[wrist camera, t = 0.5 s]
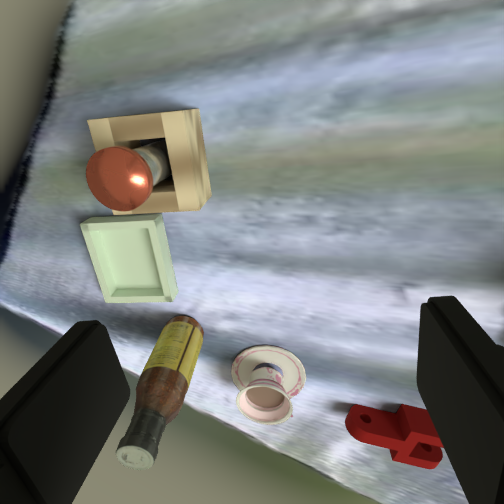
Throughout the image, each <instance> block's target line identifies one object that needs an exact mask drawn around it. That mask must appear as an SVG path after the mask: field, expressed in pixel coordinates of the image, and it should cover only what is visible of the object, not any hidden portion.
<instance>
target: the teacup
mask: <svg viewBox="0 0 504 504" xmlns="http://www.w3.org/2000/svg"><path fill="white" fill-rule="evenodd" d="M267 362H268V363H273V364H275V365H277V366H279V367H280V368H281V370H282V371H283V377H282V375H281V374H280V373H279V372H278V371H276V370H274V369H273V368H271V367H262V368H259V369H256V370H254V369H255V367H256V366H257V365H259V364H261V363H267ZM231 375H232V379H233V382H234V384H235V385H236V386H237V388H238V389H239V390H240V392H239V393H238V395H237V398H236V404H237V407H238V409H239V410H240V412H241V413H242V414H243V415H244V416H246V417H247V418H249V419H250V420H252V421H254V422H257V423H261V424H266V425H275V424H280V423H283V422H285V421H286V420H288V419H289V418H290V417H293V415H292V411H293V407H292V403H291V401H290V399H291V398H292V397H294V396H295V395H297V394H298V393H299V392H300V391H301V389H302V388H303V387H304V384H305V380H306V374H305V368H304V366H303V365H302V363H301V361H300V360H299V359H298V358H297V357H296V356H295V355H294V354H292V353H291V352H289V351H287V350H285V349H283V348H280V347H275V346H270V345H263V346H254V347H251V348H249V349H246V350H244V351H243V352H242V353H240V354H239V355H238V356H237V357H236V358H235V360H234V362H233V363H232V369H231Z"/></svg>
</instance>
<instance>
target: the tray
mask: <svg viewBox="0 0 504 504" xmlns="http://www.w3.org/2000/svg"><path fill="white" fill-rule="evenodd" d="M80 226H81V229H82V232H83V235H84V238H85V241H86V244H87V247H88V250H89V254H90V257H91V260H92V263H93V266H94V269H95V272H96V275H97V278H98V281H99V284H100V287H101V290H102V293H103V296H104V299H105V302H106V303H134V302H173V300H174V299H175V297H176V295H177V294H178V287H177V283H176V278H175V273H174V269H173V264H172V260H171V255H170V250H169V246H168V241H167V236H166V232H165V227H164V222H163V218H162V214H143V215H124V216H105V217H91V218H89V219H87V220H86V221H84V222H82V223H81V224H80Z"/></svg>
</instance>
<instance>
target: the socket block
mask: <svg viewBox="0 0 504 504" xmlns="http://www.w3.org/2000/svg"><path fill="white" fill-rule="evenodd" d="M87 122H88V125H89V129H90V132H91V136H92V140H93V143H94V147H95V150H96V152H97V151H99V150H101V149H104V148H108V147H111V146H124V147H128V148H130V149H132V150H133V149H136V148H139V147H141V143H140V139H152V138H163V137H165V138H166V144H167V149H168V154H169V159H170V165H171V170H172V175H173V180H164V181H160V182H159V183H157V184H156V185H154V186H153V189H152V193H151V195H150V197H149V198H148V199H147V201H145V202H144V203H143V204H142V205H140V206H139V207H137V208H136V209H134V210H131V211H125V212H123V211H116V210H112V211H113V215H124V214H143V213H162V212H181V211H199V210H200V209H201V208H202V207H203V205H204V204H205V203H206V202H207V200H208V199H209V198H210V197H211V196H212V195H211V188H210V181H209V174H208V167H207V160H206V153H205V146H204V140H203V133H202V126H201V119H200V112H199V109H189V110H179V111H169V112H159V113H149V114H138V115H128V116H118V117H109V118H101V119H92V120H87Z"/></svg>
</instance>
